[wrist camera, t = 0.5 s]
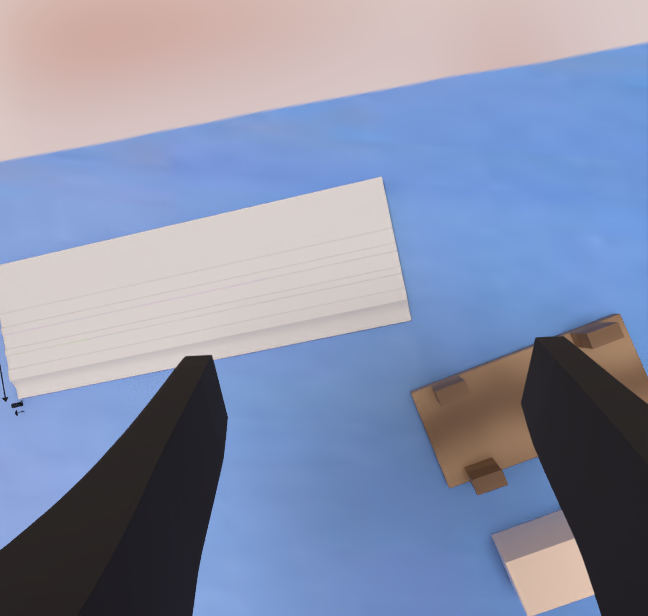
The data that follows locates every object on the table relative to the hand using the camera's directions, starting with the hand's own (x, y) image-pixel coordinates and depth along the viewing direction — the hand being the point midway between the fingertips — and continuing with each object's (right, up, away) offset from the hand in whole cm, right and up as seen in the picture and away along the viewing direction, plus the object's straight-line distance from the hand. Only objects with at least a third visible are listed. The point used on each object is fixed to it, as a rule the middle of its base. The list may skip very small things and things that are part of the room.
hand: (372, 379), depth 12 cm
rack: (+13, -5, +25) cm, 28 cm away
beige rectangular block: (+17, -14, +24) cm, 32 cm away
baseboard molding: (-11, +2, +28) cm, 30 cm away
